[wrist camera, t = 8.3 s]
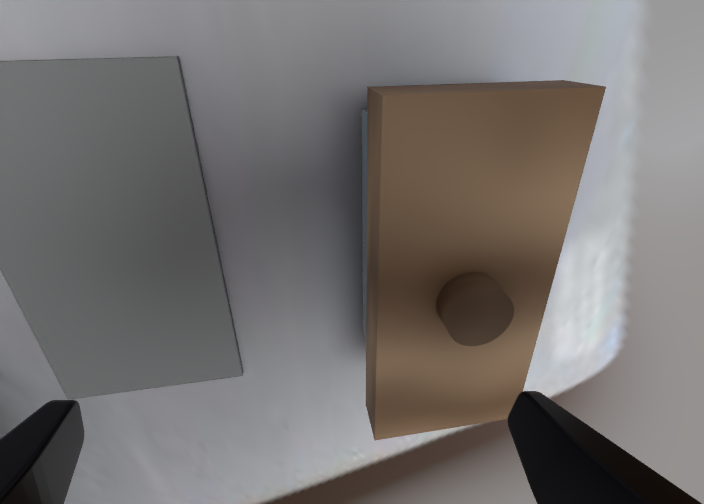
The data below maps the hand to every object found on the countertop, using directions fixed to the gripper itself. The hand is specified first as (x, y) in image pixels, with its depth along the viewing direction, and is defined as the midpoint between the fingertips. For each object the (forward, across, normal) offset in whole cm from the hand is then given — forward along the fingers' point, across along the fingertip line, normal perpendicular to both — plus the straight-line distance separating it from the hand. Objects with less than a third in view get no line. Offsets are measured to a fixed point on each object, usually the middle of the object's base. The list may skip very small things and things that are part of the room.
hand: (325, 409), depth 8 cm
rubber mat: (+12, +8, +3) cm, 14 cm away
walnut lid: (+8, -6, +1) cm, 10 cm away
